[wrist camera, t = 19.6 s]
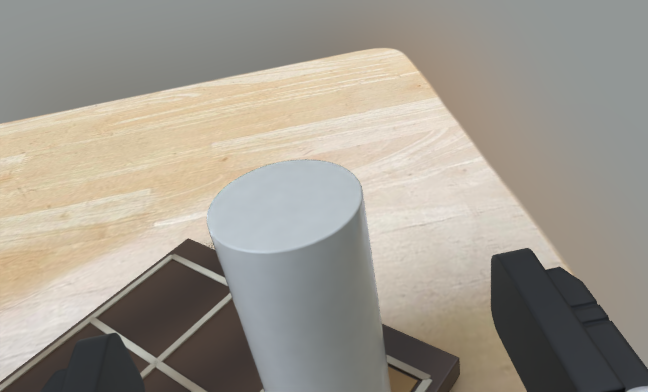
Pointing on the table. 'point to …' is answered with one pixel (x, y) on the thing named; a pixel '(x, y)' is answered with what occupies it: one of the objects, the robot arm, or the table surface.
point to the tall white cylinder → (302, 276)
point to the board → (204, 335)
